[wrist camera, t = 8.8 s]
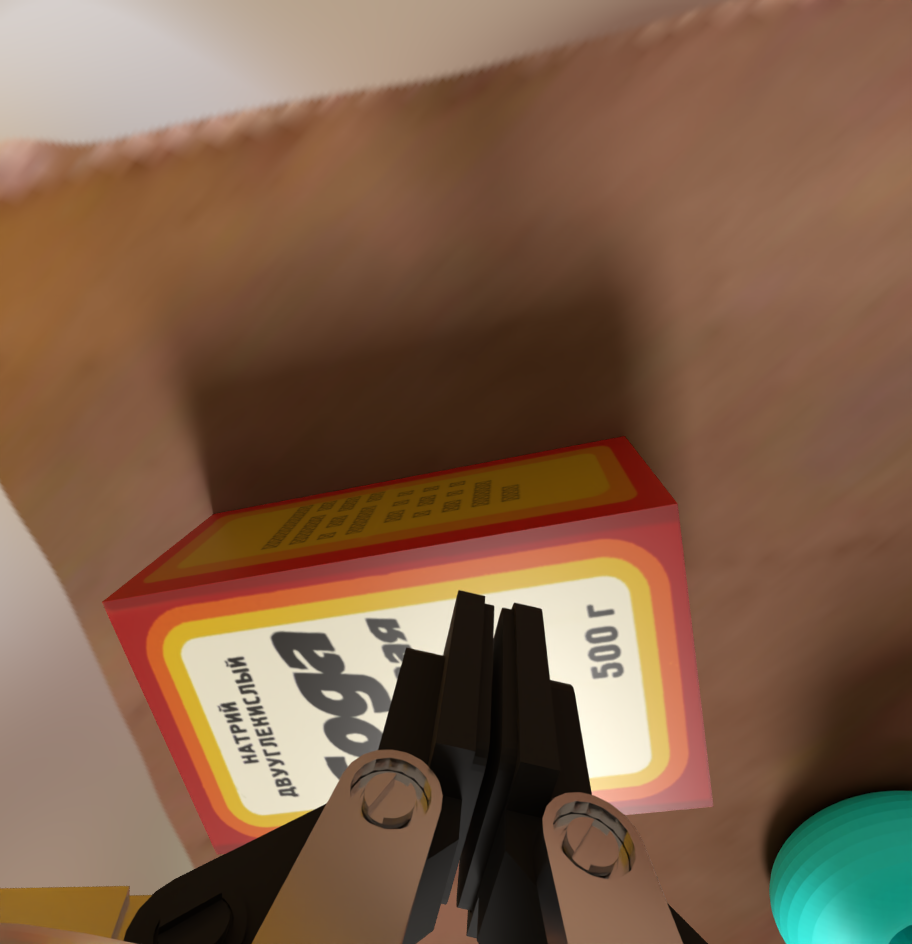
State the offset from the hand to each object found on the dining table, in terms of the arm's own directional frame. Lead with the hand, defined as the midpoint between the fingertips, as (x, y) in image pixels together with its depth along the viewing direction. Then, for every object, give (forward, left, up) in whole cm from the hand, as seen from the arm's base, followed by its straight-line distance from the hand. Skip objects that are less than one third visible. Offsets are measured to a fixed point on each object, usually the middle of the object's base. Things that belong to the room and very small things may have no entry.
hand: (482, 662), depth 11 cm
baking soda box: (-6, +1, -7) cm, 9 cm away
